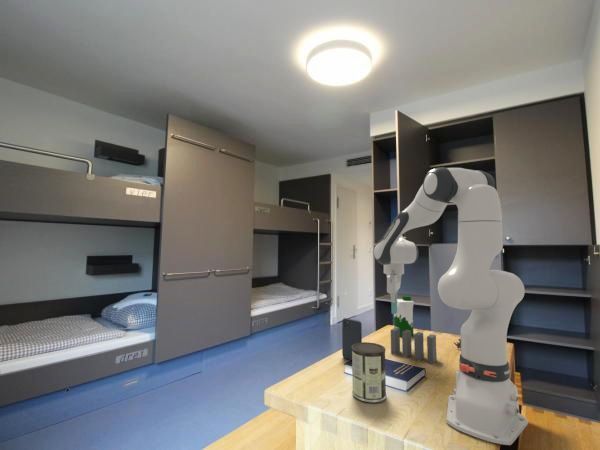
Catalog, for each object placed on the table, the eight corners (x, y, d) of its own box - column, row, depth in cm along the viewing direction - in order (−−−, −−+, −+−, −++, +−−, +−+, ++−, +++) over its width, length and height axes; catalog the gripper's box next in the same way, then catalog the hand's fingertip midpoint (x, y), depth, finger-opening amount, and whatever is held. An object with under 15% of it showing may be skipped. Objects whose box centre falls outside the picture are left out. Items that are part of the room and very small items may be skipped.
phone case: (341, 357, 121) (341, 318, 122) (343, 356, 122) (343, 317, 123) (360, 363, 114) (359, 321, 116) (362, 362, 116) (362, 321, 117)
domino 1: (391, 313, 129) (391, 290, 130) (392, 311, 134) (392, 289, 135) (396, 314, 129) (395, 291, 129) (397, 311, 133) (397, 289, 134)
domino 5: (436, 360, 119) (435, 335, 120) (432, 364, 115) (432, 337, 116) (431, 359, 120) (430, 334, 121) (427, 362, 116) (426, 336, 117)
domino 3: (411, 354, 125) (411, 330, 126) (407, 357, 121) (406, 333, 122) (406, 353, 126) (406, 329, 127) (402, 356, 123) (402, 332, 123)
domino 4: (423, 357, 122) (423, 332, 123) (419, 360, 118) (419, 335, 119) (418, 356, 123) (418, 331, 124) (414, 359, 119) (414, 334, 120)
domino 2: (400, 351, 128) (399, 328, 129) (395, 354, 125) (395, 330, 125) (395, 350, 130) (395, 327, 130) (391, 353, 126) (390, 329, 127)
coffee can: (369, 383, 98) (369, 340, 99) (393, 397, 89) (392, 349, 90) (345, 391, 93) (344, 344, 94) (367, 406, 84) (367, 355, 85)
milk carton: (416, 337, 149) (415, 297, 151) (400, 338, 148) (399, 298, 149) (407, 332, 158) (406, 294, 160) (391, 333, 156) (390, 295, 158)
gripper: (398, 272, 122) (399, 305, 121) (403, 268, 141) (403, 298, 140) (383, 271, 125) (383, 304, 124) (389, 268, 143) (389, 297, 142)
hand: (394, 301), depth 132 cm, fingers closed on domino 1, 5 cm apart
